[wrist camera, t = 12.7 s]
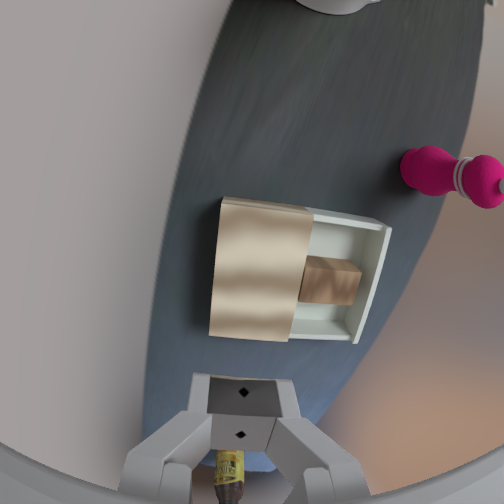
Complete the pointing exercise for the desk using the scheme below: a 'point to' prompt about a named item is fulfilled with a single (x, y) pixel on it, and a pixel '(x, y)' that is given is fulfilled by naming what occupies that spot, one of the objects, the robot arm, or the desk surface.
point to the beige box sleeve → (258, 268)
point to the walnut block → (329, 281)
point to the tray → (361, 255)
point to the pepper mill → (454, 175)
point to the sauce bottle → (229, 476)
